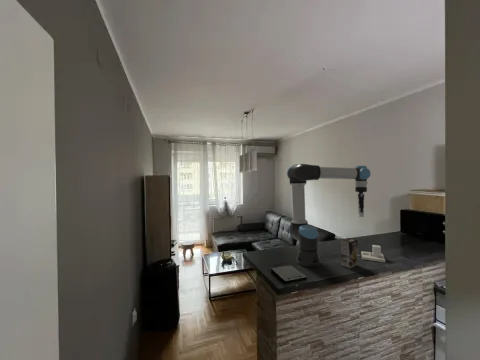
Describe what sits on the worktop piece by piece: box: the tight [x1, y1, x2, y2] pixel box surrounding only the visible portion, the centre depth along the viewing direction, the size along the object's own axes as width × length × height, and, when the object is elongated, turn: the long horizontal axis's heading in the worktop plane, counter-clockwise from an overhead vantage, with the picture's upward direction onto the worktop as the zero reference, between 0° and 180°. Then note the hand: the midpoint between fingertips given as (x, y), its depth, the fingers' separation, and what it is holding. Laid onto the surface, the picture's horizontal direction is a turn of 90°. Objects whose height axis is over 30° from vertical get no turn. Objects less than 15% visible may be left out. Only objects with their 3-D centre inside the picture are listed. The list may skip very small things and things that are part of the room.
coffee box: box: [340, 237, 359, 269], centre depth 139 cm, size 9×6×16 cm
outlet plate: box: [360, 251, 386, 263], centre depth 151 cm, size 13×12×2 cm
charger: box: [371, 244, 382, 258], centre depth 151 cm, size 4×4×8 cm
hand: (360, 215), depth 164 cm, fingers open, 13 cm apart
